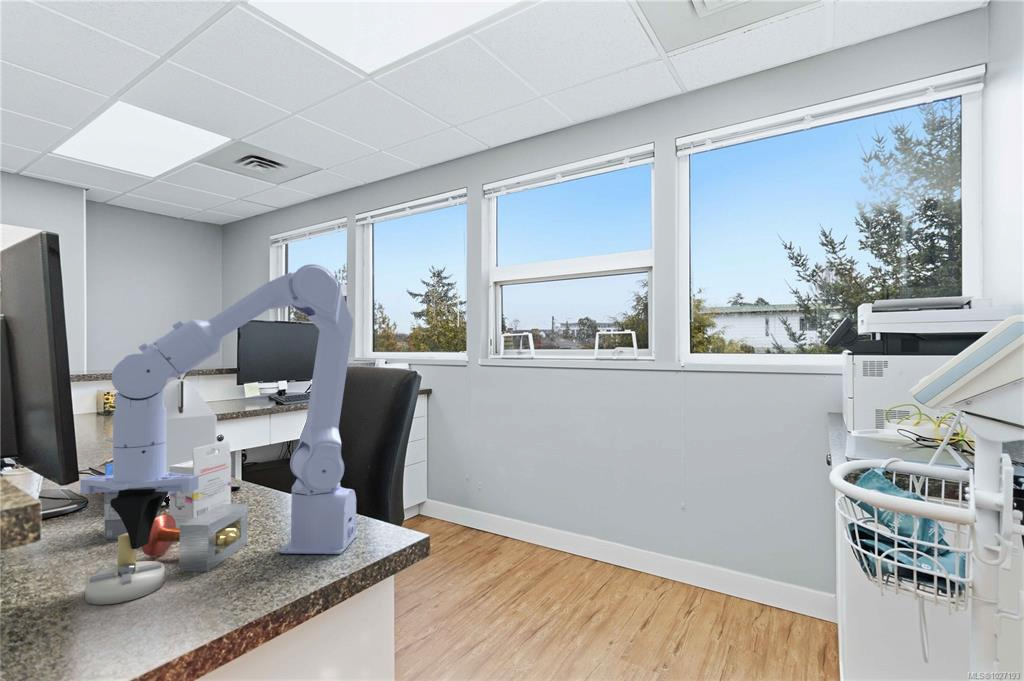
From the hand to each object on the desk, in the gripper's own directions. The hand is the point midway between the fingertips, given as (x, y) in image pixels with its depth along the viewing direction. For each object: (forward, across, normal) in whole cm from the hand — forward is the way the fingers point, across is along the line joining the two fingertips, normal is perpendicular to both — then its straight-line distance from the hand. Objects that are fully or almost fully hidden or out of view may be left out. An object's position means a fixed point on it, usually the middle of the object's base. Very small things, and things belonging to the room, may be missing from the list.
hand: (140, 546), depth 66 cm
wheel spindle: (+2, 0, -3) cm, 4 cm away
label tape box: (+5, -16, +19) cm, 25 cm away
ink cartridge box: (+5, -5, +20) cm, 21 cm away
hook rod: (+4, +3, +8) cm, 9 cm away
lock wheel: (+4, 0, -3) cm, 5 cm away
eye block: (+5, +5, +8) cm, 11 cm away
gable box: (+5, -27, +42) cm, 50 cm away
